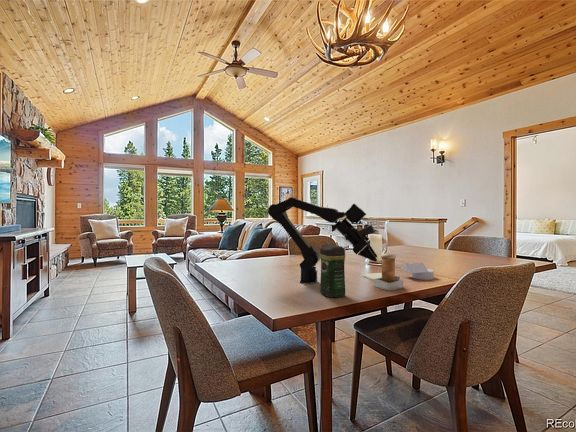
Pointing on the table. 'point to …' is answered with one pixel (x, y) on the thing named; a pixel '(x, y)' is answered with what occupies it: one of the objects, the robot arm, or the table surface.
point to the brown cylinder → (388, 267)
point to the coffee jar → (332, 270)
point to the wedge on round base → (419, 271)
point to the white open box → (389, 284)
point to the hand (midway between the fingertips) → (376, 259)
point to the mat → (372, 276)
